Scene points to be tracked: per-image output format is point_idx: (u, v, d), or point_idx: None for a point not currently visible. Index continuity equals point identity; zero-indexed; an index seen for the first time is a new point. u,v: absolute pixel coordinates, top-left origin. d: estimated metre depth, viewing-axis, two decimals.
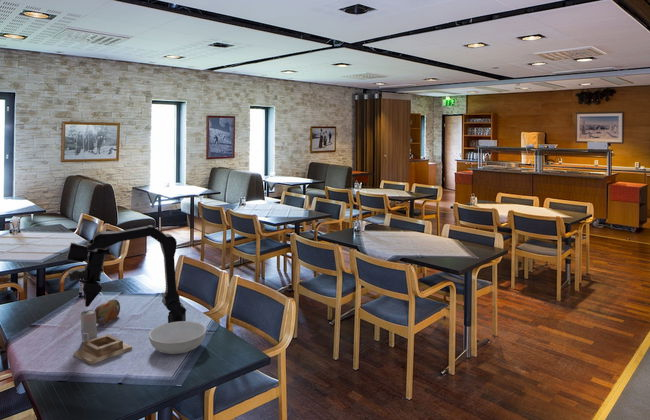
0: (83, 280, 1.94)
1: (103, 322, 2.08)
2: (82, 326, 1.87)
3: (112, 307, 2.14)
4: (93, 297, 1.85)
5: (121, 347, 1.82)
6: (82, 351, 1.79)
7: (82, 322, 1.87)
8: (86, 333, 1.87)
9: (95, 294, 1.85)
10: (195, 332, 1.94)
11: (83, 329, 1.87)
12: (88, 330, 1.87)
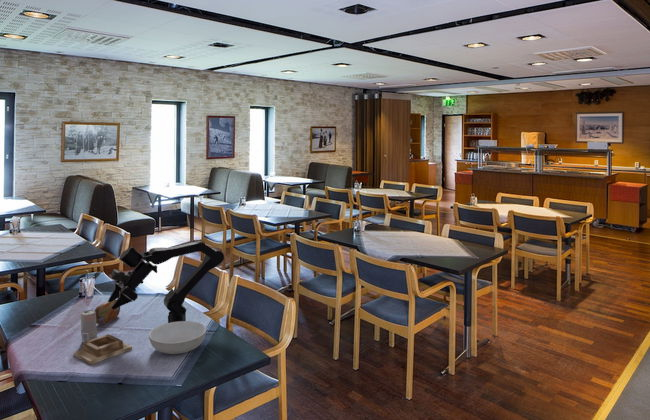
0: (116, 284, 1.99)
1: (103, 322, 2.08)
2: (82, 326, 1.87)
3: None
4: (123, 303, 1.90)
5: (121, 347, 1.82)
6: (82, 351, 1.79)
7: (82, 322, 1.87)
8: (86, 333, 1.87)
9: (127, 301, 1.90)
10: (195, 332, 1.94)
11: (83, 329, 1.87)
12: (88, 330, 1.87)
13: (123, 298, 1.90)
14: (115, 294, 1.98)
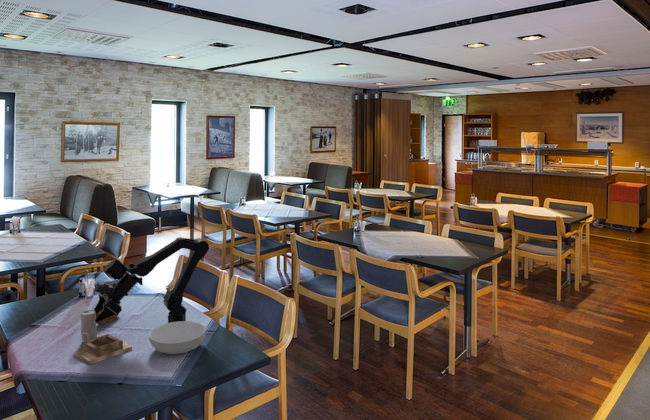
0: (101, 296, 1.96)
1: (103, 322, 2.08)
2: (82, 326, 1.87)
3: None
4: (107, 316, 1.87)
5: (121, 347, 1.82)
6: (82, 351, 1.79)
7: (82, 322, 1.87)
8: (86, 333, 1.87)
9: (110, 314, 1.87)
10: (195, 332, 1.94)
11: (83, 329, 1.87)
12: (88, 330, 1.87)
13: (107, 311, 1.87)
14: (100, 306, 1.95)
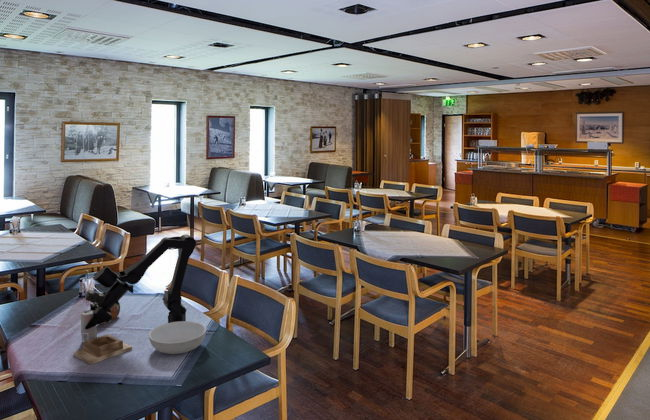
0: (92, 305, 1.94)
1: (103, 322, 2.08)
2: (82, 326, 1.87)
3: (112, 307, 2.14)
4: (97, 323, 1.87)
5: (121, 347, 1.82)
6: (82, 351, 1.79)
7: (82, 322, 1.87)
8: (86, 333, 1.87)
9: (100, 321, 1.87)
10: (195, 332, 1.94)
11: (83, 329, 1.87)
12: (88, 330, 1.87)
13: (96, 318, 1.87)
14: None
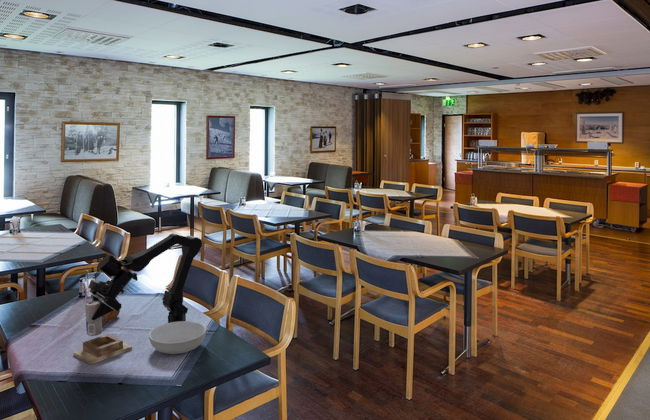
0: (94, 296, 1.88)
1: (103, 322, 2.08)
2: (88, 317, 1.81)
3: None
4: (104, 313, 1.82)
5: (121, 347, 1.82)
6: (82, 351, 1.79)
7: (88, 313, 1.81)
8: (93, 324, 1.82)
9: (108, 311, 1.83)
10: (195, 332, 1.94)
11: (89, 320, 1.81)
12: (95, 321, 1.82)
13: (104, 308, 1.82)
14: None
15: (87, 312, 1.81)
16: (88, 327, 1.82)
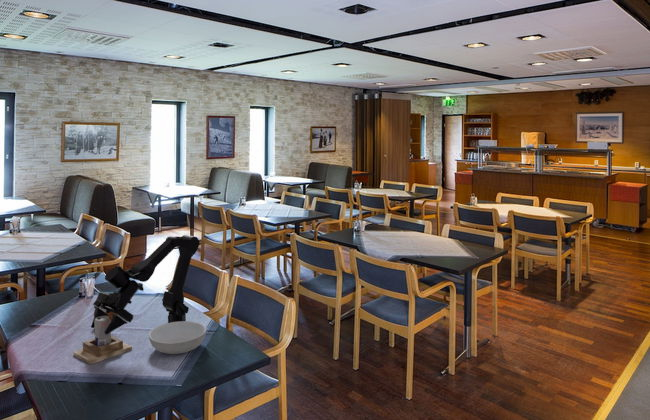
0: None
1: None
2: (98, 333, 1.78)
3: None
4: (117, 326, 1.79)
5: (121, 347, 1.82)
6: (82, 351, 1.79)
7: (98, 329, 1.78)
8: (104, 339, 1.79)
9: (121, 324, 1.79)
10: (195, 332, 1.94)
11: (100, 336, 1.78)
12: (106, 336, 1.79)
13: (117, 321, 1.79)
14: None
15: (97, 328, 1.78)
16: (98, 343, 1.79)
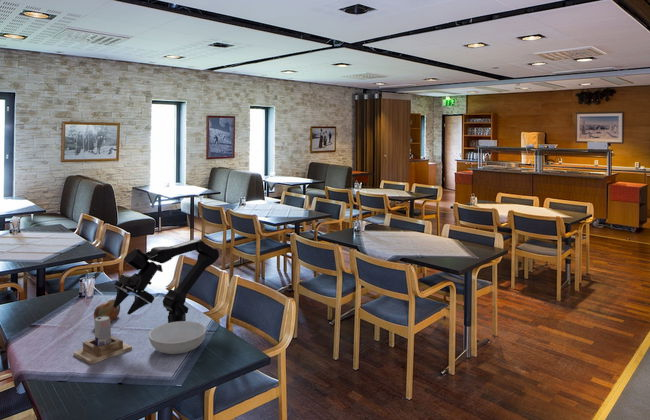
0: (119, 288, 1.92)
1: None
2: (98, 333, 1.78)
3: (112, 307, 2.14)
4: (139, 307, 1.87)
5: (121, 347, 1.82)
6: (82, 351, 1.79)
7: (98, 329, 1.78)
8: (104, 339, 1.79)
9: (142, 304, 1.88)
10: (195, 332, 1.94)
11: (100, 336, 1.78)
12: (106, 336, 1.79)
13: (138, 302, 1.87)
14: (120, 298, 1.92)
15: (97, 328, 1.78)
16: (98, 343, 1.79)
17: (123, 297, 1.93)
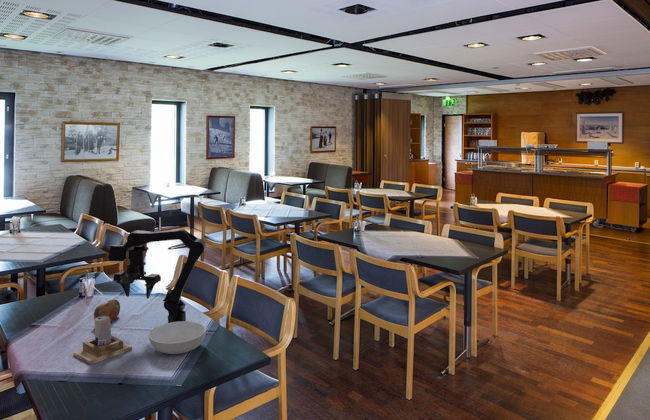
0: (120, 281, 2.02)
1: None
2: (98, 333, 1.78)
3: (112, 307, 2.14)
4: (152, 288, 2.04)
5: (121, 347, 1.82)
6: (82, 351, 1.79)
7: (98, 329, 1.78)
8: (104, 339, 1.79)
9: (153, 284, 2.04)
10: (195, 332, 1.94)
11: (100, 336, 1.78)
12: (106, 336, 1.79)
13: (150, 285, 2.02)
14: (127, 287, 2.05)
15: (98, 328, 1.78)
16: (98, 343, 1.79)
17: (128, 284, 2.06)
